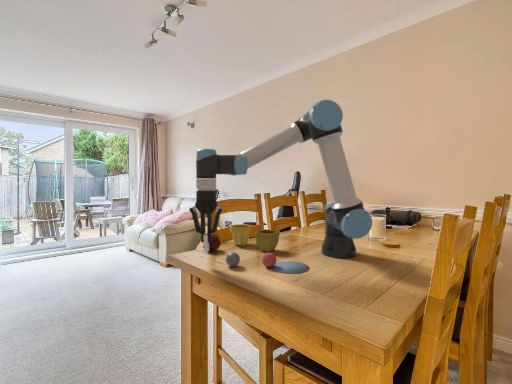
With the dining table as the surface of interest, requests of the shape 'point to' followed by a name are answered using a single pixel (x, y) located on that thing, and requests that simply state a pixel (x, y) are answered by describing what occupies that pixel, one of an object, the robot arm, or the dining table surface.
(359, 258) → the dining table surface
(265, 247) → the flower pot
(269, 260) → the object ball
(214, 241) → the dark red bumpy ball
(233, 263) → the blue-grey ball
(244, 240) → the plant pot
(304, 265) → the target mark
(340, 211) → the robot arm
